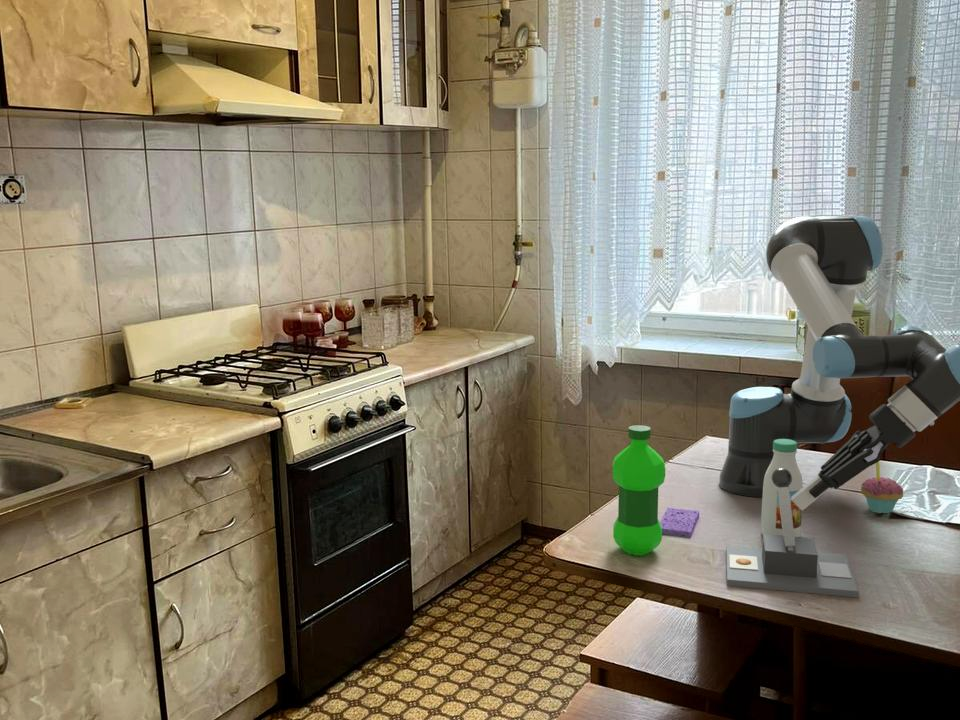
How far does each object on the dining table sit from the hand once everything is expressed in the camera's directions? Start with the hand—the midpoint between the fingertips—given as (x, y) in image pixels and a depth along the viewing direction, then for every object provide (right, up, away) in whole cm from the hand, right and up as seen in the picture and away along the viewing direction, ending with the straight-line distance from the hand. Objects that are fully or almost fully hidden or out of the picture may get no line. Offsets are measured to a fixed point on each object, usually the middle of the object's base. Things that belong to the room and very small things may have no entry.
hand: (796, 504), depth 165 cm
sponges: (-15, -9, +28) cm, 33 cm away
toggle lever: (0, -8, +3) cm, 8 cm away
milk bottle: (+4, -10, +21) cm, 24 cm away
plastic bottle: (-26, -12, +15) cm, 32 cm away
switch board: (0, -13, +4) cm, 14 cm away
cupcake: (+30, -7, +35) cm, 46 cm away
